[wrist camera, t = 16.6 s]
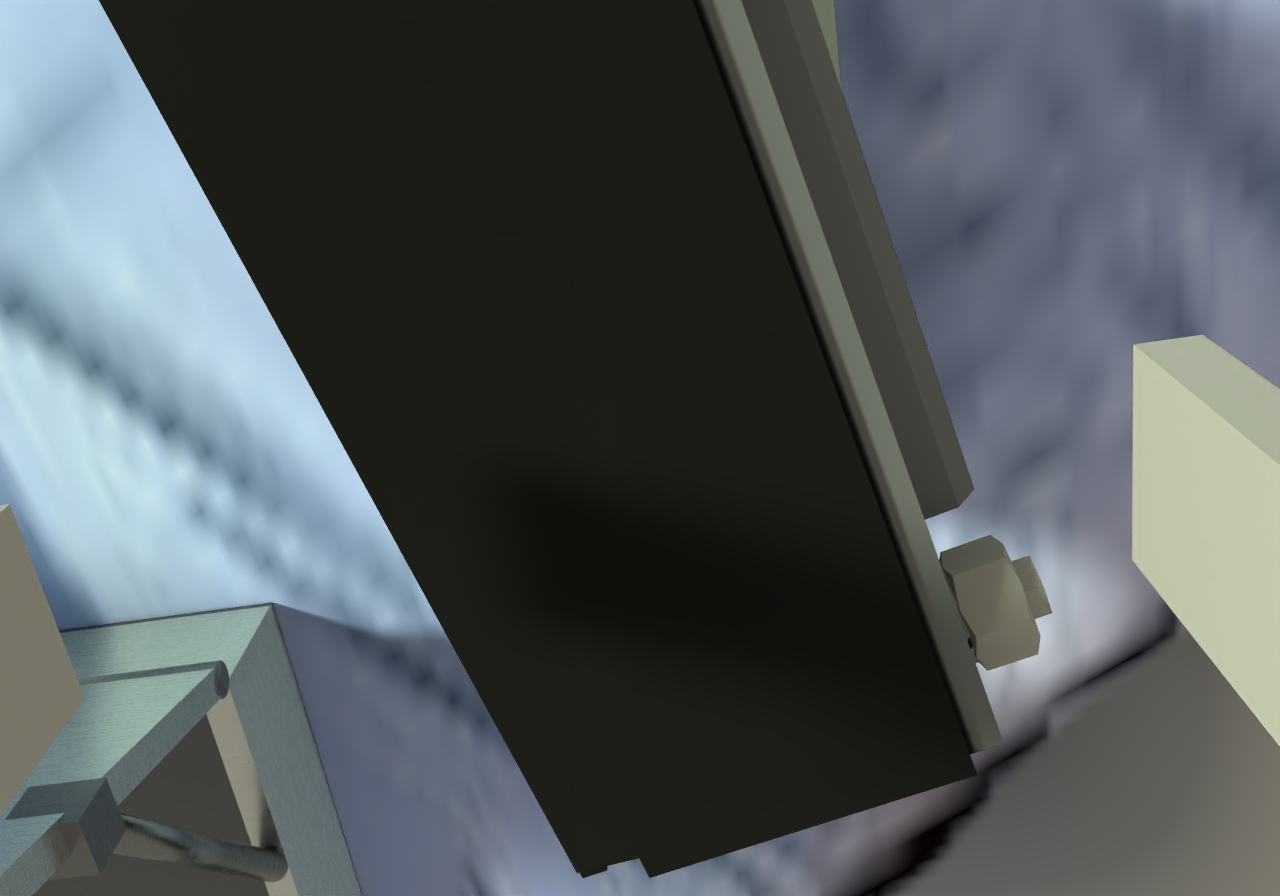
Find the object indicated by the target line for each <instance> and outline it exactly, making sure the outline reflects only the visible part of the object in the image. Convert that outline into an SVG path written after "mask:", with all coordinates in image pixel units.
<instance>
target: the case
mask: <svg viewBox="0 0 1280 896" xmlns="http://www.w3.org/2000/svg"><path fill="white" fill-rule="evenodd" d="M59 632H60V635H61V637H62V640H63V643H64V645H65V648H66V650H67V653H68V655H69V658H70V661H71V663H72V666H73V668H74V671H75V673H76V676H77V679H78V681H79V684H80V686H81V689H82V691H83V694H84V696H85V699H84V701H83V702H82V704H81V705H80V706H79V708H78V709H77V711H76V712H75V713H74V715H73V716H72V717H71V719H70V720H69V722H68V723H67V724H66V726H65V727H64V729H63V730H62V731H61V733H60V734H59V736H58V737H57V738H56V740H55V741H54V742H53V744H52V745H51V747H50V748H49V749H48V751H47V752H46V754H45V755H44V756H43V758H42V759H41V760H40V762H39V763H38V765H37V766H36V767H35V769H34V770H33V772H32V773H31V774H30V776H29V777H28V778H27V780H26V781H25V783H24V784H23V785H22V787H21V788H20V790H19V791H18V792H17V794H16V795H15V796H14V798H13V799H12V801H11V802H10V803H9V805H8V806H7V808H6V809H5V810H4V812H3V813H2V815H1V816H0V896H362V894H361V891H360V888H359V884H358V881H357V878H356V875H355V871H354V868H353V865H352V862H351V858H350V855H349V852H348V849H347V845H346V842H345V839H344V836H343V832H342V829H341V826H340V823H339V819H338V816H337V813H336V810H335V806H334V803H333V800H332V797H331V793H330V790H329V787H328V784H327V781H326V777H325V774H324V771H323V768H322V764H321V761H320V758H319V755H318V751H317V748H316V745H315V742H314V738H313V735H312V732H311V729H310V725H309V722H308V719H307V716H306V712H305V709H304V706H303V703H302V699H301V696H300V693H299V690H298V686H297V683H296V680H295V677H294V673H293V670H292V667H291V664H290V660H289V657H288V654H287V651H286V647H285V644H284V641H283V638H282V634H281V631H280V628H279V625H278V621H277V618H276V615H275V612H274V608H273V605H272V603H266V604H258V605H251V606H243V607H235V608H228V609H220V610H213V611H205V612H197V613H190V614H182V615H174V616H167V617H159V618H151V619H144V620H136V621H129V622H121V623H113V624H106V625H98V626H90V627H83V628H75V629H68V630H60V631H59Z"/></svg>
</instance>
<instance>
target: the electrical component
mask: <svg viewBox="0 0 1280 896" xmlns="http://www.w3.org/2000/svg"><path fill="white" fill-rule="evenodd" d="M99 1H100V3H101V5H102V7H103V9H104V11H105V12H106V14H107V16H108V18H109V20H110V21H111V23H112V25H113V27H114V29H115V31H116V32H117V34H118V36H119V38H120V40H121V42H122V43H123V45H124V47H125V49H126V51H127V53H128V54H129V56H130V58H131V60H132V62H133V63H134V65H135V67H136V69H137V71H138V73H139V74H140V76H141V78H142V80H143V82H144V84H145V85H146V87H147V89H148V91H149V93H150V94H151V96H152V98H153V100H154V102H155V104H156V105H157V107H158V109H159V111H160V113H161V115H162V116H163V118H164V120H165V122H166V124H167V126H168V127H169V129H170V131H171V133H172V135H173V136H174V138H175V140H176V142H177V144H178V146H179V147H180V149H181V151H182V153H183V155H184V157H185V158H186V160H187V162H188V164H189V166H190V168H191V169H192V171H193V173H194V175H195V177H196V178H197V180H198V182H199V184H200V186H201V188H202V189H203V191H204V193H205V195H206V197H207V199H208V200H209V202H210V204H211V206H212V208H213V210H214V211H215V213H216V215H217V217H218V219H219V220H220V222H221V224H222V226H223V228H224V230H225V231H226V233H227V235H228V237H229V239H230V241H231V242H232V244H233V246H234V248H235V250H236V252H237V253H238V255H239V257H240V259H241V261H242V262H243V264H244V266H245V268H246V270H247V272H248V273H249V275H250V277H251V279H252V281H253V283H254V284H255V286H256V288H257V290H258V292H259V293H260V295H261V297H262V299H263V301H264V303H265V304H266V306H267V308H268V310H269V312H270V314H271V315H272V317H273V319H274V321H275V323H276V325H277V326H278V328H279V330H280V332H281V334H282V335H283V337H284V339H285V341H286V343H287V345H288V346H289V348H290V350H291V352H292V354H293V356H294V357H295V359H296V361H297V363H298V365H299V367H300V368H301V370H302V372H303V374H304V376H305V377H306V379H307V381H308V383H309V385H310V387H311V388H312V390H313V392H314V394H315V396H316V398H317V399H318V401H319V403H320V405H321V407H322V409H323V410H324V412H325V414H326V416H327V418H328V419H329V421H330V423H331V425H332V427H333V429H334V430H335V432H336V434H337V436H338V438H339V440H340V441H341V443H342V445H343V447H344V449H345V450H346V452H347V454H348V456H349V458H350V460H351V461H352V463H353V465H354V467H355V469H356V471H357V472H358V474H359V476H360V478H361V480H362V482H363V483H364V485H365V487H366V489H367V491H368V492H369V494H370V496H371V498H372V500H373V502H374V503H375V505H376V507H377V509H378V511H379V513H380V514H381V516H382V518H383V520H384V522H385V524H386V525H387V527H388V529H389V531H390V533H391V534H392V536H393V538H394V540H395V542H396V544H397V545H398V547H399V549H400V551H401V553H402V555H403V556H404V558H405V560H406V562H407V564H408V566H409V567H410V569H411V571H412V573H413V575H414V576H415V578H416V580H417V582H418V584H419V586H420V587H421V589H422V591H423V593H424V595H425V597H426V598H427V600H428V602H429V604H430V606H431V607H432V609H433V611H434V613H435V615H436V617H437V618H438V620H439V622H440V624H441V626H442V628H443V629H444V631H445V633H446V635H447V637H448V639H449V640H450V642H451V644H452V646H453V648H454V649H455V651H456V653H457V655H458V657H459V659H460V660H461V662H462V664H463V666H464V668H465V670H466V671H467V673H468V675H469V677H470V679H471V681H472V682H473V684H474V686H475V688H476V690H477V691H478V693H479V695H480V697H481V699H482V701H483V702H484V704H485V706H486V708H487V710H488V712H489V713H490V715H491V717H492V719H493V721H494V723H495V724H496V726H497V728H498V730H499V732H500V733H501V735H502V737H503V739H504V741H505V743H506V744H507V746H508V748H509V750H510V752H511V754H512V755H513V757H514V759H515V761H516V763H517V765H518V766H519V768H520V770H521V772H522V774H523V775H524V777H525V779H526V781H527V783H528V785H529V786H530V788H531V790H532V792H533V794H534V796H535V797H536V799H537V801H538V803H539V805H540V806H541V808H542V810H543V812H544V814H545V816H546V817H547V819H548V821H549V823H550V825H551V827H552V828H553V830H554V832H555V834H556V836H557V838H558V839H559V841H560V843H561V845H562V847H563V848H564V850H565V852H566V854H567V856H568V858H569V859H570V861H571V863H572V865H573V867H574V869H575V870H576V872H577V873H580V874H581V876H582V878H585V877H588V876H591V875H594V874H597V873H601V872H604V871H607V866H609V865H613V864H617V863H621V862H625V861H629V860H634V859H638V858H640V860H641V862H642V864H643V866H644V868H645V870H646V872H647V874H648V876H649V878H651V877H654V876H657V875H661V874H664V873H667V872H670V871H673V870H676V869H680V868H683V867H686V866H689V865H692V864H696V863H699V862H702V861H705V860H708V859H711V858H715V857H718V856H721V855H724V854H727V853H731V852H734V851H737V850H740V849H743V848H746V847H750V846H753V845H756V844H759V843H762V842H766V841H769V840H772V839H775V838H778V837H781V836H785V835H788V834H791V833H794V832H797V831H801V830H804V829H807V828H810V827H813V826H816V825H820V824H823V823H826V822H829V821H832V820H836V819H839V818H842V817H845V816H848V815H851V814H855V813H858V812H861V811H864V810H867V809H871V808H874V807H877V806H880V805H883V804H886V803H890V802H893V801H896V800H899V799H902V798H906V797H909V796H912V795H915V794H918V793H921V792H925V791H928V790H931V789H934V788H937V787H940V786H944V785H947V784H950V783H953V782H956V781H960V780H963V779H966V778H969V777H972V776H975V775H977V773H976V770H975V767H974V765H973V762H972V759H971V756H970V754H973V753H976V752H979V751H983V750H986V749H989V748H992V747H995V746H998V745H1001V744H1004V743H1003V740H1002V737H1001V735H1000V732H999V729H998V726H997V723H996V720H995V718H994V715H993V712H992V709H991V706H990V703H989V701H988V698H987V695H986V692H985V689H984V687H983V684H982V681H981V678H980V675H979V672H978V670H977V667H976V664H975V663H977V662H979V663H980V664H981V665H982V666H983V667H984V668H985V669H986V670H987V671H988V670H991V669H994V668H997V667H1000V666H1003V665H1006V664H1009V663H1012V662H1015V661H1019V660H1022V659H1025V658H1028V657H1031V656H1034V655H1037V654H1038V651H1039V643H1040V634H1039V631H1038V628H1037V625H1036V622H1035V619H1036V618H1039V617H1042V616H1045V615H1048V614H1051V613H1052V611H1051V608H1050V605H1049V602H1048V599H1047V596H1046V593H1045V590H1044V587H1043V584H1042V582H1041V580H1040V578H1039V576H1038V573H1037V571H1036V569H1035V567H1034V565H1033V563H1032V560H1031V558H1030V556H1028V557H1024V558H1021V559H1018V560H1015V561H1012V562H1011V560H1010V558H1009V556H1008V554H1007V551H1006V549H1005V547H1004V545H1003V544H1002V543H1001V542H999V541H998V540H997V539H995V538H994V537H992V536H991V535H989V536H986V537H983V538H980V539H977V540H974V541H972V542H969V543H966V544H963V545H960V546H957V547H954V548H951V549H948V550H946V551H943V552H941V553H940V559H938V556H937V553H936V551H935V548H934V545H933V542H932V539H931V536H930V534H929V531H928V528H927V525H926V522H925V519H928V518H930V517H933V516H936V515H938V514H941V513H944V512H946V511H949V510H952V509H954V508H957V507H959V506H960V505H961V504H962V503H963V501H964V500H965V499H966V498H967V497H968V496H969V495H970V493H971V492H972V491H973V490H974V487H973V484H972V481H971V478H970V475H969V472H968V469H967V466H966V463H965V460H964V457H963V454H962V451H961V448H960V445H959V442H958V439H957V436H956V433H955V430H954V427H953V424H952V421H951V418H950V415H949V412H948V409H947V406H946V403H945V400H944V397H943V394H942V391H941V388H940V385H939V382H938V379H937V376H936V373H935V370H934V367H933V364H932V361H931V358H930V355H929V352H928V349H927V346H926V343H925V340H924V337H923V334H922V331H921V328H920V325H919V322H918V319H917V316H916V313H915V310H914V307H913V304H912V301H911V298H910V295H909V292H908V289H907V286H906V283H905V280H904V277H903V274H902V271H901V268H900V265H899V262H898V258H897V255H896V252H895V249H894V246H893V243H892V240H891V237H890V234H889V231H888V228H887V225H886V222H885V219H884V216H883V213H882V210H881V207H880V204H879V201H878V198H877V195H876V192H875V189H874V186H873V183H872V180H871V177H870V174H869V171H868V168H867V165H866V162H865V159H864V156H863V153H862V150H861V147H860V144H859V141H858V138H857V135H856V132H855V129H854V126H853V123H852V120H851V117H850V114H849V111H848V108H847V105H846V102H845V99H844V96H843V93H842V90H841V87H840V84H839V81H838V78H837V75H836V72H835V69H834V66H833V63H832V60H831V57H830V54H829V51H828V48H827V45H826V42H825V39H824V36H823V33H822V30H821V27H820V24H819V21H818V18H817V15H816V12H815V9H814V6H813V3H812V0H99Z"/></svg>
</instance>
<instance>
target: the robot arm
mask: <svg viewBox="0 0 1280 896" xmlns="http://www.w3.org/2000/svg"><path fill="white" fill-rule="evenodd" d="M1132 560H1133V562H1134V563H1135V564H1136V565H1137V567H1138V568H1139V569H1140V571H1141V572H1142V573H1143V574H1144V576H1145V577H1146V578H1147V579H1148V581H1149V582H1150V583H1151V584H1152V586H1153V587H1154V588H1155V589H1156V591H1157V592H1158V593H1159V595H1160V596H1161V597H1162V598H1163V600H1164V601H1165V602H1166V603H1167V605H1168V606H1169V607H1170V608H1171V610H1172V611H1173V612H1174V613H1175V615H1176V616H1177V617H1178V619H1179V620H1180V621H1181V622H1182V624H1183V625H1184V626H1185V627H1186V629H1187V630H1188V631H1189V632H1190V634H1191V635H1192V636H1193V637H1194V639H1195V640H1196V641H1197V642H1198V644H1199V645H1200V646H1201V647H1202V649H1203V650H1204V651H1205V653H1206V654H1207V655H1208V656H1209V658H1210V659H1211V660H1212V661H1213V663H1214V664H1215V665H1216V666H1217V668H1218V669H1219V670H1220V671H1221V673H1222V674H1223V675H1224V677H1225V678H1226V679H1227V680H1228V682H1229V683H1230V684H1231V685H1232V687H1233V688H1234V689H1235V690H1236V692H1237V693H1238V694H1239V696H1240V697H1241V698H1242V699H1243V700H1244V702H1245V703H1246V704H1247V706H1248V707H1249V708H1250V709H1251V711H1252V712H1253V713H1254V714H1255V716H1256V717H1257V718H1258V720H1259V721H1260V722H1261V723H1262V725H1263V726H1264V727H1265V728H1266V729H1267V731H1268V732H1269V733H1270V735H1271V736H1272V737H1273V738H1274V740H1275V741H1276V742H1277V744H1278V745H1279V746H1280V389H1279V388H1277V387H1276V386H1275V385H1273V384H1272V383H1270V382H1269V381H1267V380H1266V379H1265V378H1263V377H1262V376H1260V375H1259V374H1258V373H1256V372H1255V371H1253V370H1252V369H1250V368H1249V367H1248V366H1246V365H1245V364H1243V363H1242V362H1241V361H1239V360H1238V359H1236V358H1235V357H1234V356H1232V355H1231V354H1229V353H1228V352H1226V351H1225V350H1224V349H1222V348H1221V347H1219V346H1218V345H1217V344H1215V343H1214V342H1212V341H1211V340H1209V339H1208V338H1207V337H1205V336H1204V335H1197V336H1189V337H1182V338H1175V339H1168V340H1161V341H1154V342H1147V343H1140V344H1133V484H1132ZM84 699H85V696H84V694H83V691H82V689H81V686H80V684H79V681H78V679H77V676H76V673H75V671H74V668H73V666H72V663H71V661H70V658H69V655H68V653H67V650H66V648H65V645H64V643H63V640H62V637H61V635H60V632H59V630H58V627H57V625H56V622H55V619H54V617H53V614H52V612H51V609H50V607H49V604H48V602H47V599H46V596H45V594H44V591H43V589H42V586H41V584H40V581H39V578H38V576H37V573H36V571H35V568H34V566H33V563H32V560H31V558H30V555H29V553H28V550H27V548H26V545H25V542H24V540H23V537H22V535H21V532H20V530H19V527H18V525H17V522H16V519H15V517H14V514H13V512H12V509H11V507H10V504H7V505H0V816H1V815H2V813H3V812H4V810H5V809H6V808H7V806H8V805H9V803H10V802H11V801H12V799H13V798H14V796H15V795H16V794H17V792H18V791H19V790H20V788H21V787H22V785H23V784H24V783H25V781H26V780H27V778H28V777H29V776H30V774H31V773H32V772H33V770H34V769H35V767H36V766H37V765H38V763H39V762H40V760H41V759H42V758H43V756H44V755H45V754H46V752H47V751H48V749H49V748H50V747H51V745H52V744H53V742H54V741H55V740H56V738H57V737H58V736H59V734H60V733H61V731H62V730H63V729H64V727H65V726H66V724H67V723H68V722H69V720H70V719H71V717H72V716H73V715H74V713H75V712H76V711H77V709H78V708H79V706H80V705H81V704H82V702H83V701H84Z"/></svg>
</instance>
